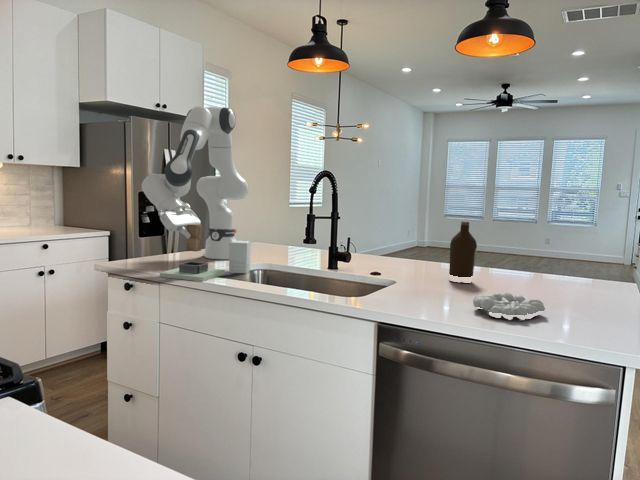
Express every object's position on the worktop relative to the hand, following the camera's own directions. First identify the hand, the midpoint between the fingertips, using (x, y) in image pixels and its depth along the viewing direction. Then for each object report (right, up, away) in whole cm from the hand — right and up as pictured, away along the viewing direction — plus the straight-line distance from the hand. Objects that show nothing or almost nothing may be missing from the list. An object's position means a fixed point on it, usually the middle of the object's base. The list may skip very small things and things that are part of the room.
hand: (193, 236), depth 190 cm
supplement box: (+15, -15, +14) cm, 25 cm away
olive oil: (+107, -19, +16) cm, 110 cm away
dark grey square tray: (-1, -13, +2) cm, 14 cm away
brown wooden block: (0, -5, +1) cm, 5 cm away
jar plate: (-1, -15, +2) cm, 15 cm away
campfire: (+107, -25, -35) cm, 116 cm away
